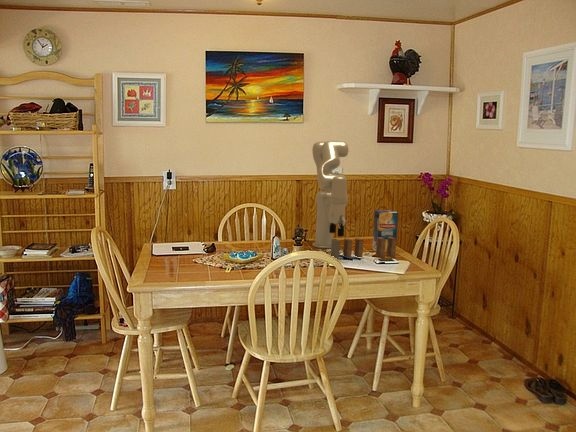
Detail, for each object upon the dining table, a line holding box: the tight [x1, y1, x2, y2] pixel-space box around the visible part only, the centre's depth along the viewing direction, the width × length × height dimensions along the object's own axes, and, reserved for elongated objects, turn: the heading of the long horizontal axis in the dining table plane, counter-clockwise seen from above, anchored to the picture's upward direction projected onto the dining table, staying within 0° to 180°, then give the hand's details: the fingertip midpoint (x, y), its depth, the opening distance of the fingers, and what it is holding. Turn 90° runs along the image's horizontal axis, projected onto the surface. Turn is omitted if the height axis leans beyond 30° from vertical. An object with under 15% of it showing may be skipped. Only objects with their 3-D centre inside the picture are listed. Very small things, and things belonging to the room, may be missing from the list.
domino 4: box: [375, 237, 386, 259], centre depth 292 cm, size 5×2×10 cm, turn 20°
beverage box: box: [371, 209, 399, 253], centre depth 306 cm, size 7×11×22 cm, turn 103°
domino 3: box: [353, 237, 364, 258], centre depth 288 cm, size 5×2×10 cm, turn 20°
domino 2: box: [342, 238, 353, 258], centre depth 285 cm, size 5×2×10 cm, turn 20°
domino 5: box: [386, 237, 397, 258], centre depth 294 cm, size 5×2×10 cm, turn 20°
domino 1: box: [330, 238, 341, 260], centre depth 283 cm, size 5×2×10 cm, turn 20°
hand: (336, 234), depth 281 cm, fingers open, 9 cm apart
